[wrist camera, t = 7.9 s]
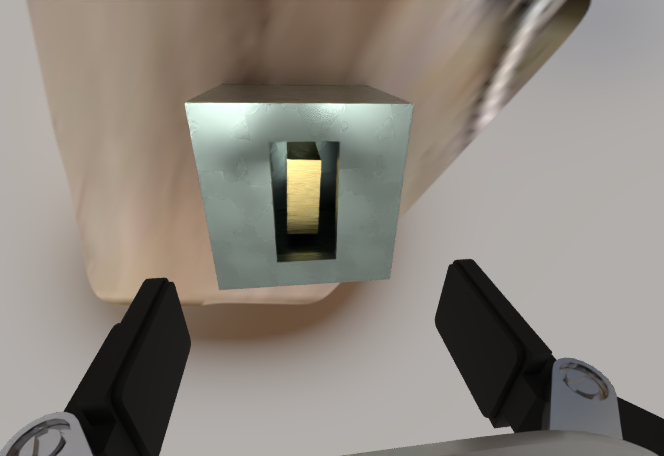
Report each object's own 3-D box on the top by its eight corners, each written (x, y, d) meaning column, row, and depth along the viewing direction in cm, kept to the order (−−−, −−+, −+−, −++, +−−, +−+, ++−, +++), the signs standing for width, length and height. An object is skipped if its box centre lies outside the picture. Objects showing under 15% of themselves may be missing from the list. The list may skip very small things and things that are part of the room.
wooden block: (286, 202, 31) (286, 139, 28) (312, 203, 31) (314, 140, 28) (287, 234, 25) (287, 159, 22) (317, 233, 26) (321, 160, 23)
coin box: (221, 84, 26) (184, 102, 16) (368, 85, 27) (413, 104, 18) (239, 217, 31) (219, 289, 22) (359, 213, 33) (389, 279, 23)
